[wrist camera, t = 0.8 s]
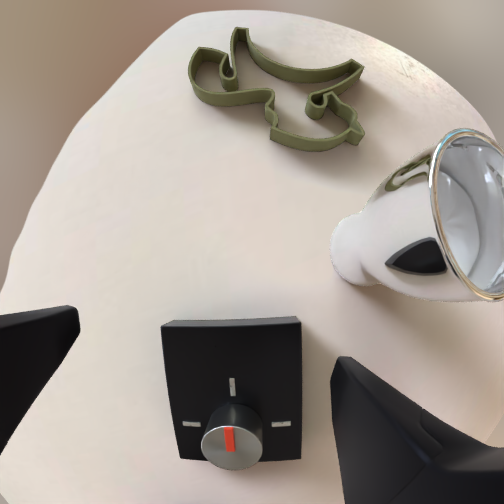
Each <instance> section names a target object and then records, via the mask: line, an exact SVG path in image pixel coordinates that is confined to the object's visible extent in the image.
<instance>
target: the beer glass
mask: <svg viewBox="0 0 504 504" xmlns="http://www.w3.org/2000/svg"><path fill="white" fill-rule="evenodd" d="M330 256H331V260H332V263H333V265H334V267H335V269H336V271H337V272H338V273H339V274H340V276H341V277H343V278H344V279H345V280H346V281H348V282H350V283H352V284H355V285H358V286H371V285H375V284H378V283H381V284H383V285H384V286H386V287H388V288H390V289H392V290H394V291H396V292H399V293H401V294H404V295H406V296H409V297H412V298H417V299H422V300H427V301H435V302H478V301H487V302H498V301H502V300H504V150H503V148H501V146H500V145H499V144H497V143H496V142H495V141H494V140H493V139H491V138H490V137H489V136H487V135H485V134H484V133H481V132H479V131H477V130H473V129H468V128H460V129H455V130H453V131H450V132H449V133H447V134H446V135H445V136H444V137H443V138H441V139H440V140H438V141H437V142H435V143H433V144H432V145H430V146H428V147H427V148H425V149H423V150H422V151H420V152H419V153H417V154H416V155H414V156H413V157H411V158H410V159H408V160H407V161H406V162H404V163H403V164H402V165H400V166H399V167H398V168H396V169H395V170H394V171H393V172H392V173H391V174H390V175H389V176H388V177H387V178H386V179H384V180H383V181H382V183H381V184H380V185H379V186H378V188H377V189H376V190H375V191H374V193H373V194H372V195H371V197H370V198H369V200H368V201H367V203H366V205H365V206H364V208H363V210H362V211H361V212H359V213H354V214H351V215H349V216H347V217H345V218H344V219H342V220H341V221H340V222H339V223H338V225H337V226H336V227H335V229H334V231H333V233H332V236H331V240H330Z"/></svg>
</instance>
